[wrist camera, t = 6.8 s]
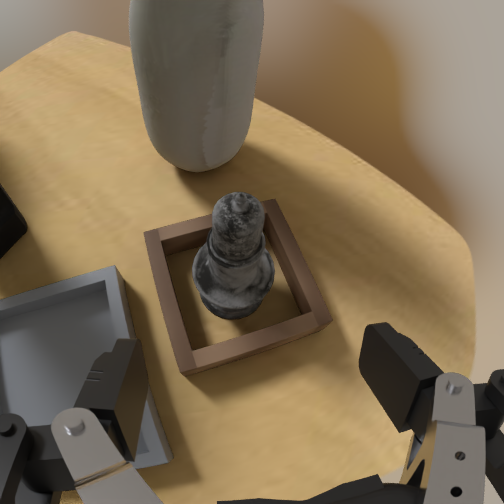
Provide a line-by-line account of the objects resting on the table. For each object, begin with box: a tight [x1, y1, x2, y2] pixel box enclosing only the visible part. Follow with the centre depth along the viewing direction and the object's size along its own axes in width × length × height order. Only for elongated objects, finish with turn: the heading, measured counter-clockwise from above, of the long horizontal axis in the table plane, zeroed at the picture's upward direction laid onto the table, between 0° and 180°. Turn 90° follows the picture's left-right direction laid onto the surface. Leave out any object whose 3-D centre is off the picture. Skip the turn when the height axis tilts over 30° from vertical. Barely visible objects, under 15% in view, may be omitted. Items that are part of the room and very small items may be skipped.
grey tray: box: [0, 265, 174, 469], centre depth 19 cm, size 15×15×2 cm
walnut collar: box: [144, 199, 333, 376], centre depth 25 cm, size 11×11×2 cm
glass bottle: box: [129, 0, 264, 172], centre depth 20 cm, size 10×10×28 cm
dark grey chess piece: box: [192, 192, 275, 319], centre depth 21 cm, size 6×6×12 cm
